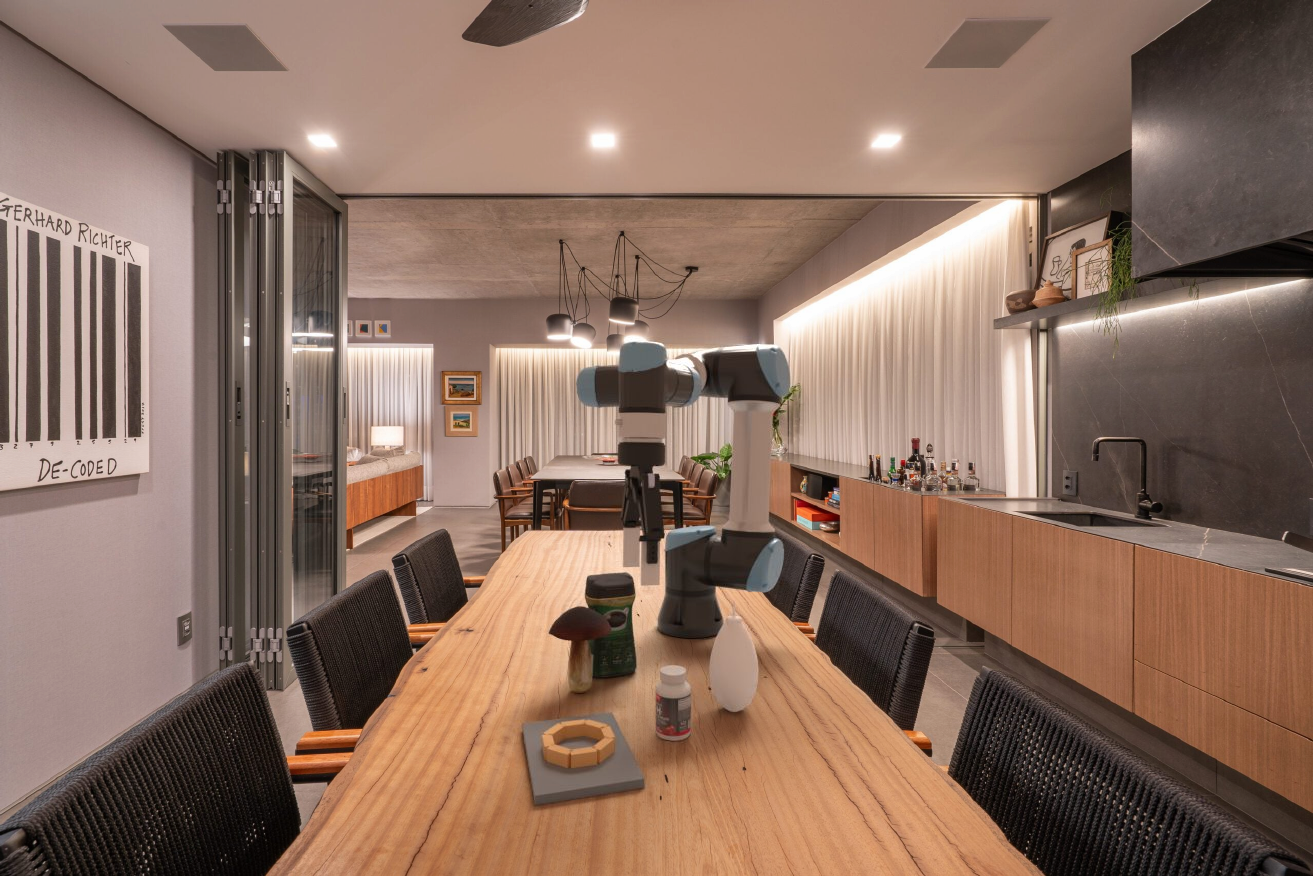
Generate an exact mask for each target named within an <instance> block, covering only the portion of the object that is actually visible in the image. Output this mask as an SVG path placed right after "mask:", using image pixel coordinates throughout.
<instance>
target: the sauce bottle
mask: <svg viewBox="0 0 1313 876" xmlns="http://www.w3.org/2000/svg"><path fill="white" fill-rule="evenodd" d="M736 614H737V613H736V601H733V602H732V615H728V616H726V618H725V622H724V623H723V626H722V627H721V629H720V631H719V633H718V634H717V635H716V637H715V638H714V639H715V640H714V642H713V646H712V650H711V653H710V658H709V670H708V671H709V673H708V674H709V682H710V686H711V690H712V692H713V695H714V697H715V700H716V701H717V702H718V704H720V705H721V706H722V707H723V709H725V710H727V711H729V712H730V713H738V712H740V711H742V710H744V709H745V707H747V706H749V705H750V704H751V702H752V700H753V699H754V697H755V695H756V692H757V688H758V684H759V683H758V682H759V663H758V661H759V660H758V655H757V651H756V647H755V644H754V642H753V639H752V637H751V634H750V633H749V631H748V629H747V627H746V626H745V625H744V623H743V618H742V616H739V615H736Z"/></svg>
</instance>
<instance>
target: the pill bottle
mask: <svg viewBox="0 0 1313 876" xmlns="http://www.w3.org/2000/svg"><path fill="white" fill-rule="evenodd" d="M686 669H687V668H685V667H684V666H680V665H676V664H672V665H671V664H670V665H666V666H662V667H661V668H660V670H659V679H660V681H659V682H658V683H657V685H656V686H655V734H656V735H657V737H659V738H660V739H663V740H665V741H673V742H674V741H675V742H677V741H683V740H685V739H686V738H687V739H688V737H690V736H691V732H692V687H691V685H690V684H689V682H688V681H687V670H686Z"/></svg>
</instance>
